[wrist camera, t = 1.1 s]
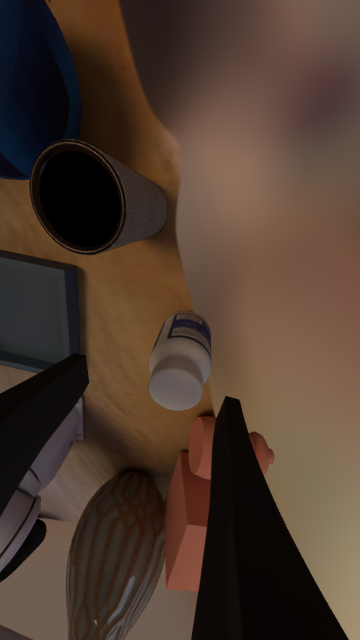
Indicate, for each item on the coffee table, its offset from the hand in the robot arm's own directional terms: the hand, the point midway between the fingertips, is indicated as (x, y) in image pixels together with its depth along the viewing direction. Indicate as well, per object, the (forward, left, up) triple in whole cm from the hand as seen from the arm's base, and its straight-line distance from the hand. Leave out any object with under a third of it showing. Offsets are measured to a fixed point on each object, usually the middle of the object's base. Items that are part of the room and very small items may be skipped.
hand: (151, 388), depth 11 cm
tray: (-5, +21, -13) cm, 25 cm away
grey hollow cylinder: (+8, +5, -13) cm, 16 cm away
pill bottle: (-3, -1, -13) cm, 13 cm away
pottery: (-22, -4, -7) cm, 23 cm away
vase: (-34, +2, -12) cm, 37 cm away
